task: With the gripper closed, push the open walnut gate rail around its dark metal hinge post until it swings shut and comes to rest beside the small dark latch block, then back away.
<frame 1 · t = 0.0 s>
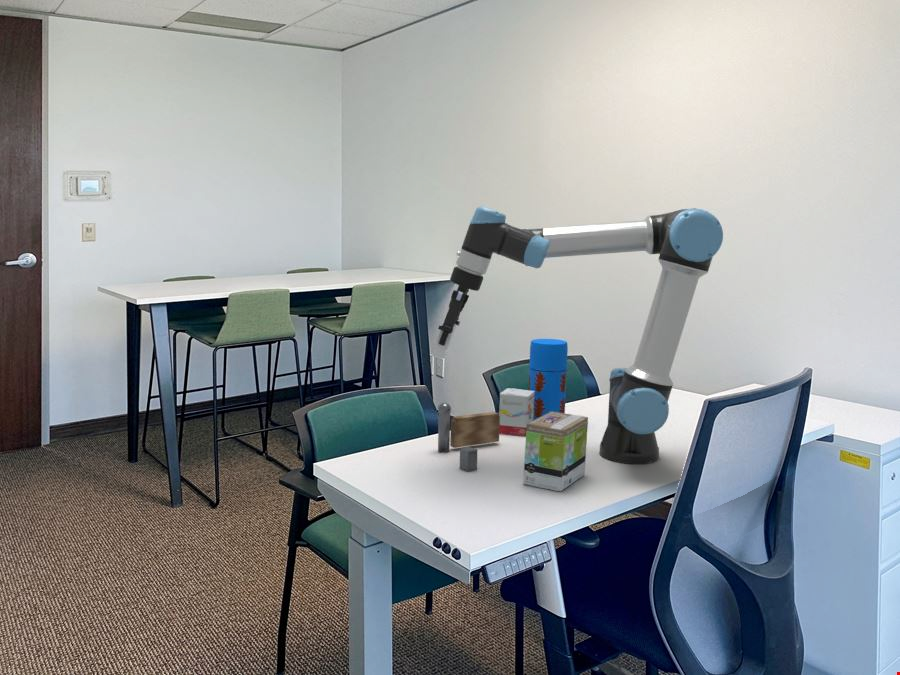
hand: (439, 352, 199), 28 cm above the table, tool tilted 20°, fingers open, 13 cm apart
tea box: (554, 480, 192), on the table
thermos: (545, 425, 241), on the table
gate: (475, 429, 217), point 5 cm above the table, hinge at 80.0°
ink box: (515, 432, 233), on the table
hinge post: (443, 451, 213), on the table
latch block: (468, 468, 198), on the table
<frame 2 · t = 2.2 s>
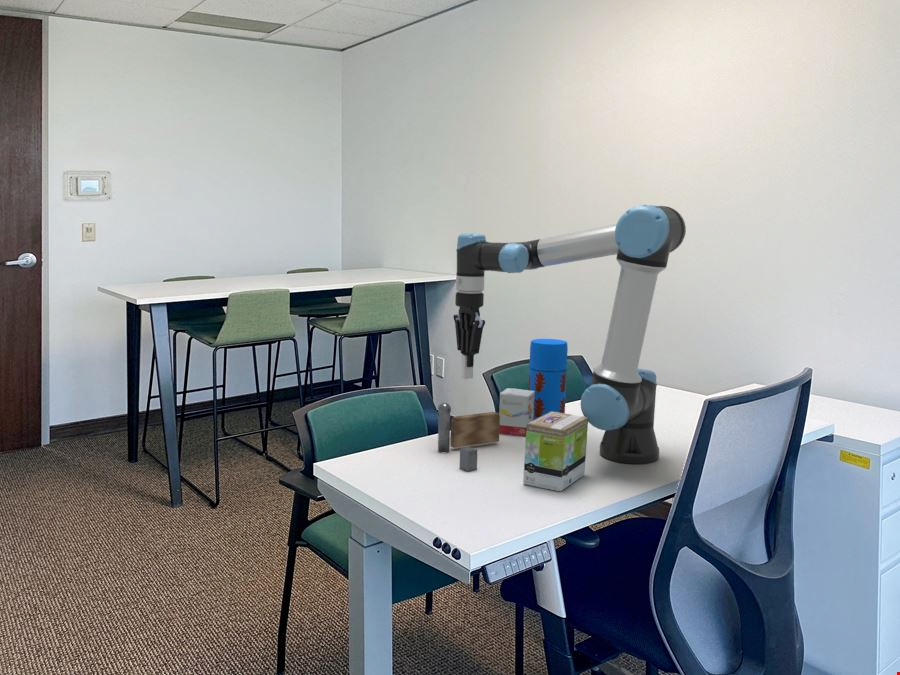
hand: (467, 378, 221), 17 cm above the table, tool pointing down, fingers closed
nothing on the table moved.
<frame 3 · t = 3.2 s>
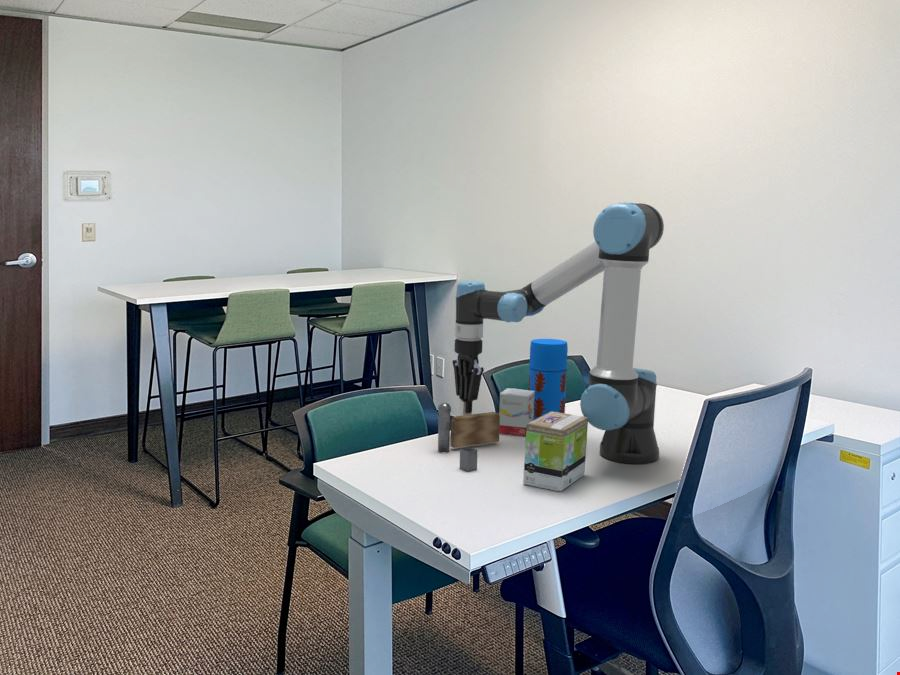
hand: (465, 423, 223), 4 cm above the table, tool pointing down, fingers closed
nothing on the table moved.
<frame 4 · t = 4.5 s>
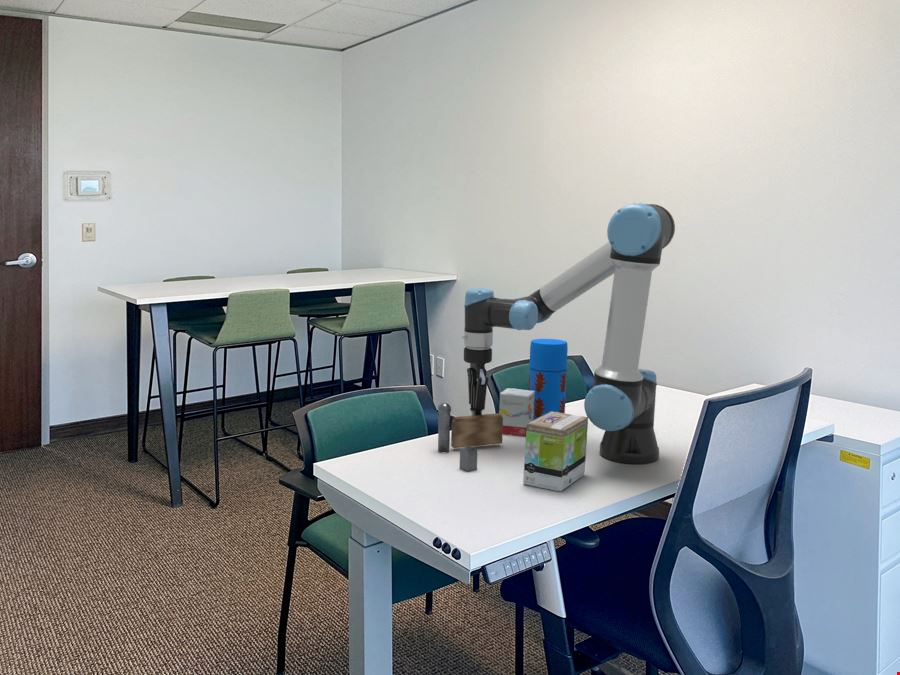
hand: (476, 432, 220), 3 cm above the table, tool pointing down, fingers closed
gate: (477, 430, 216), point 5 cm above the table, hinge at 73.4°, touching gripper
everything else where it was.
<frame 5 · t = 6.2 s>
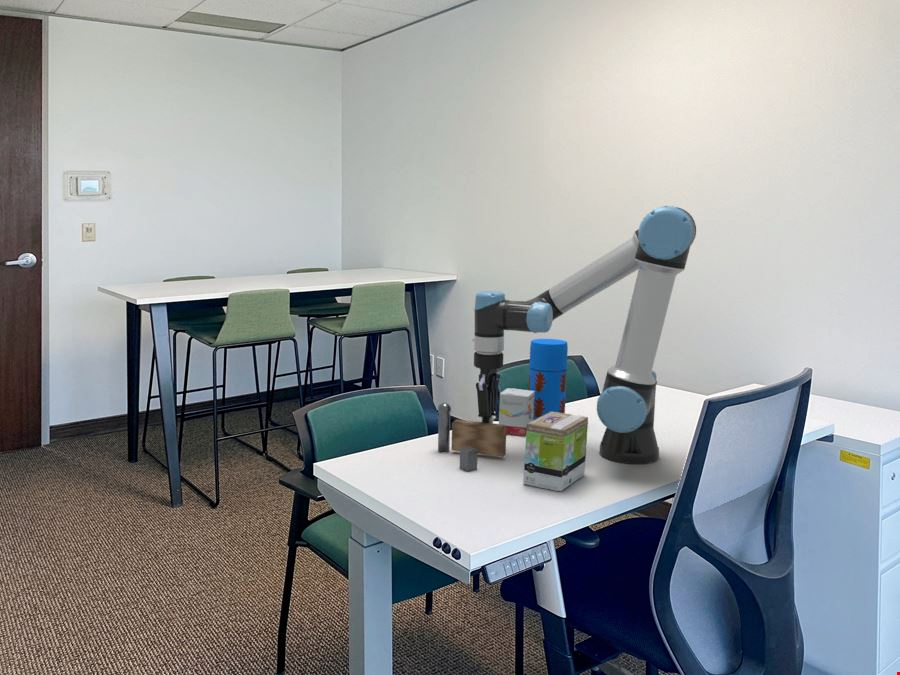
hand: (486, 440, 212), 3 cm above the table, tool pointing down, fingers closed
gate: (478, 437, 209), point 5 cm above the table, hinge at 30.0°, touching gripper
everything else where it was.
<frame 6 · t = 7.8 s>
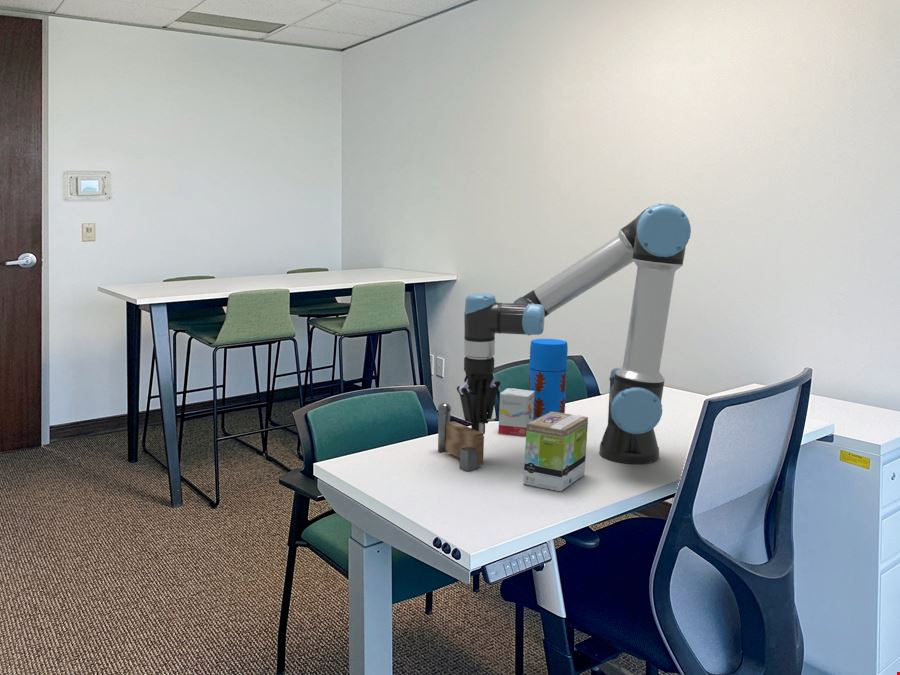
hand: (477, 447, 206), 3 cm above the table, tool pointing down, fingers closed
gate: (464, 442, 204), point 5 cm above the table, hinge at -6.7°, touching gripper, latch block
everything else where it was.
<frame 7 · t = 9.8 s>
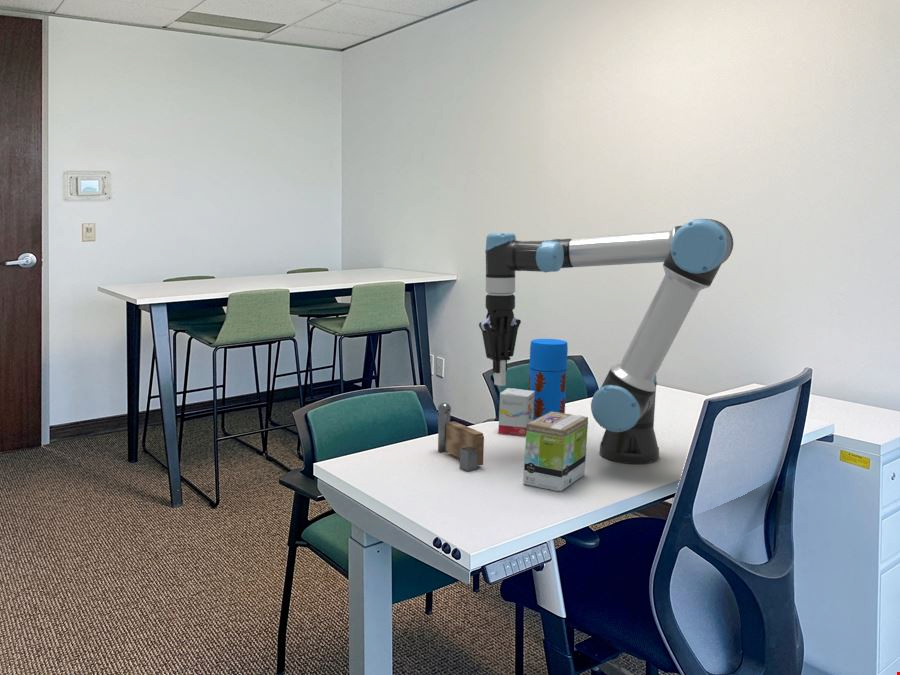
hand: (499, 384, 211), 18 cm above the table, tool pointing down, fingers closed
gate: (464, 442, 204), point 5 cm above the table, hinge at -6.6°, touching latch block
everything else where it was.
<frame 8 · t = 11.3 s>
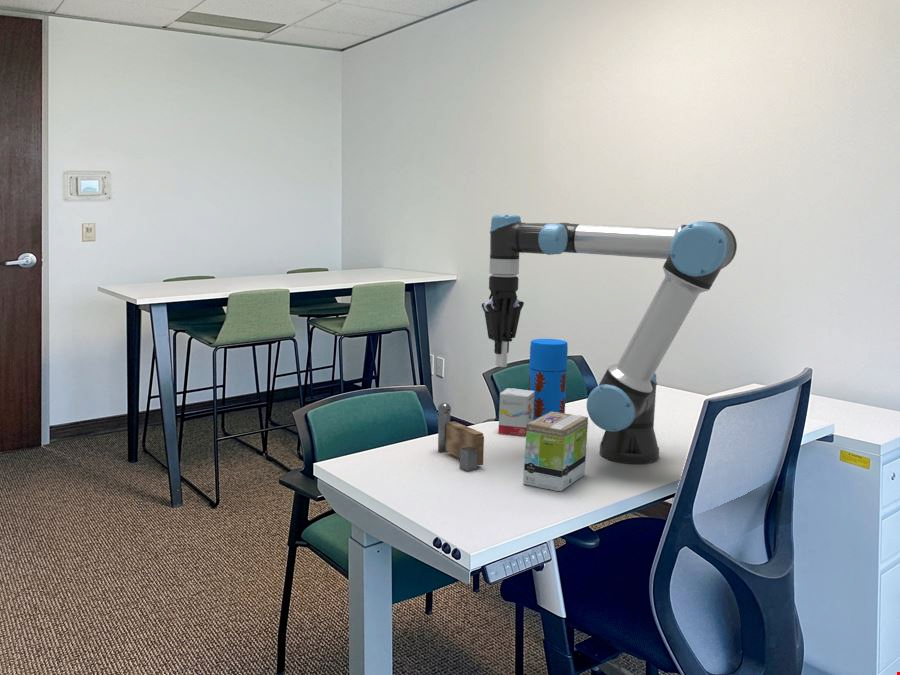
hand: (501, 365, 212), 22 cm above the table, tool pointing down, fingers closed
nothing on the table moved.
at the end: gate at -7° (first picture: +80°) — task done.
